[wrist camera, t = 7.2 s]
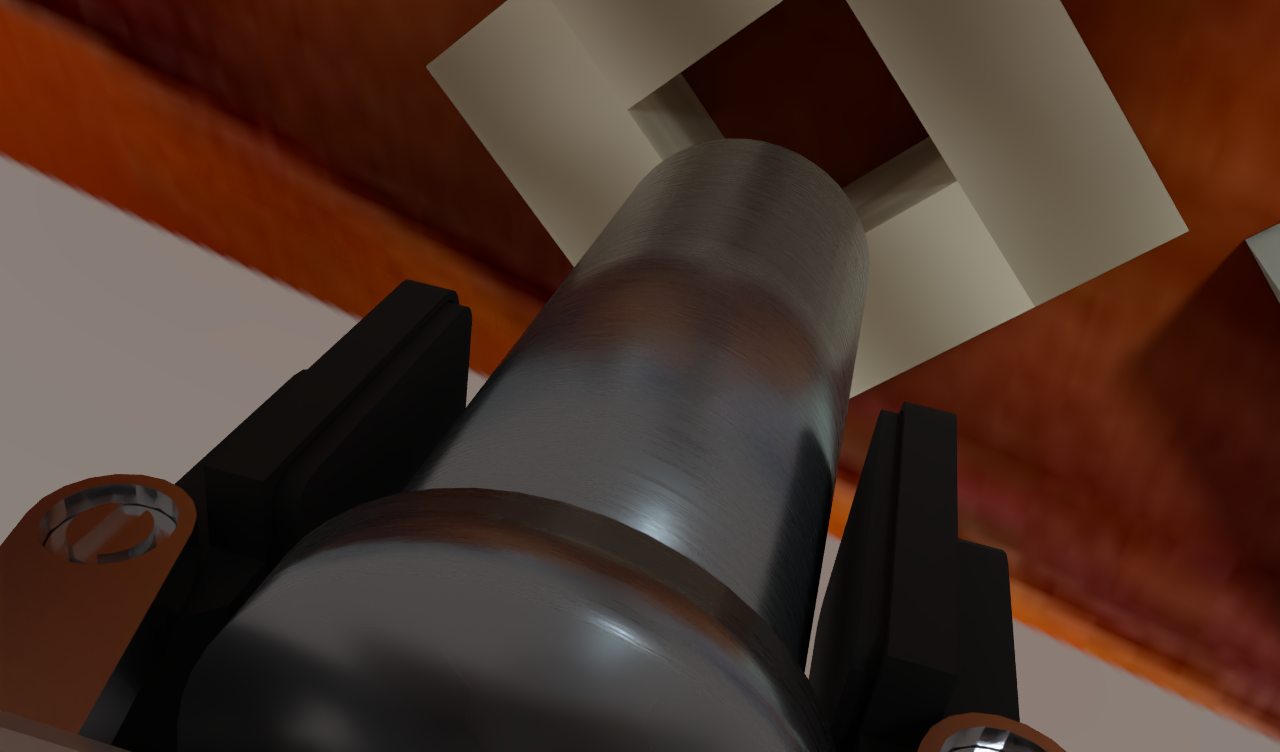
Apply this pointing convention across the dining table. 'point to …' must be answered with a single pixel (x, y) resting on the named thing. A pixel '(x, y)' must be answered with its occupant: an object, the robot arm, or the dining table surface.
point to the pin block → (883, 198)
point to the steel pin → (593, 508)
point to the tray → (1268, 255)
